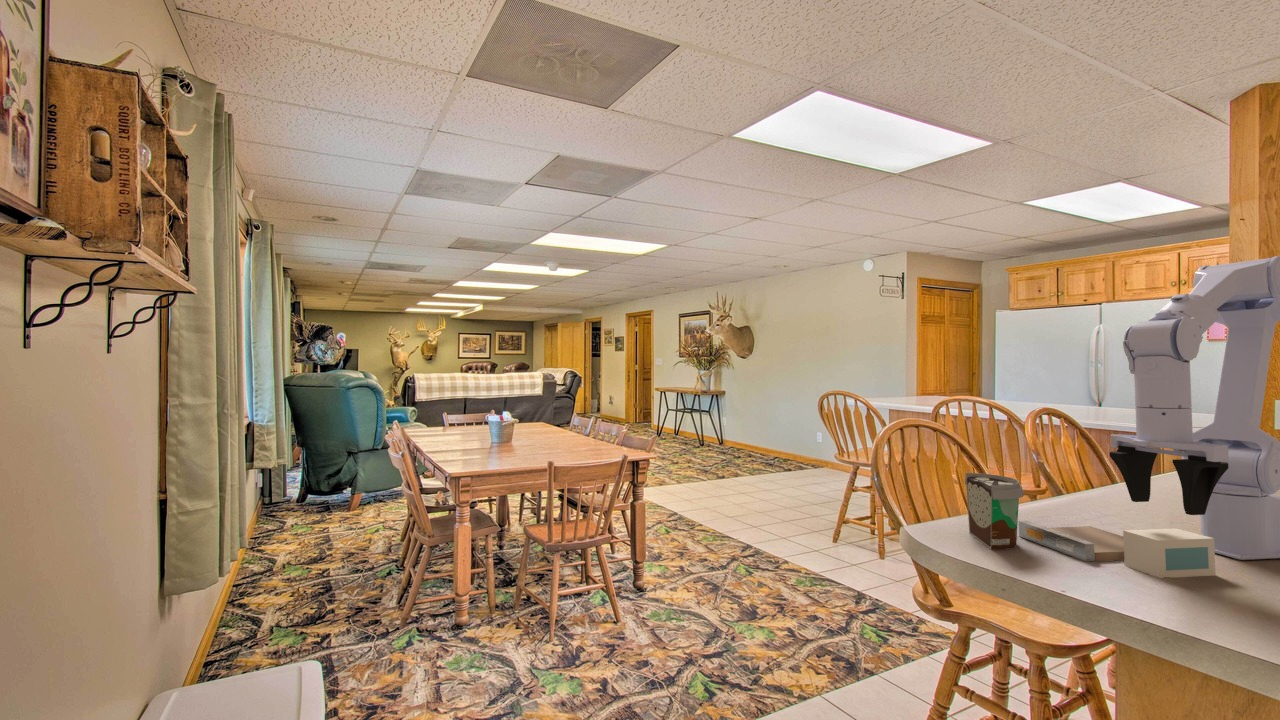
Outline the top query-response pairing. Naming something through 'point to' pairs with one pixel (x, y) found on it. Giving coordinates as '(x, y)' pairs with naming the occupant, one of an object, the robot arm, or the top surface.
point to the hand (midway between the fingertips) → (1166, 507)
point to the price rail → (1057, 541)
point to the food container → (993, 509)
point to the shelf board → (1098, 541)
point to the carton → (1169, 552)
